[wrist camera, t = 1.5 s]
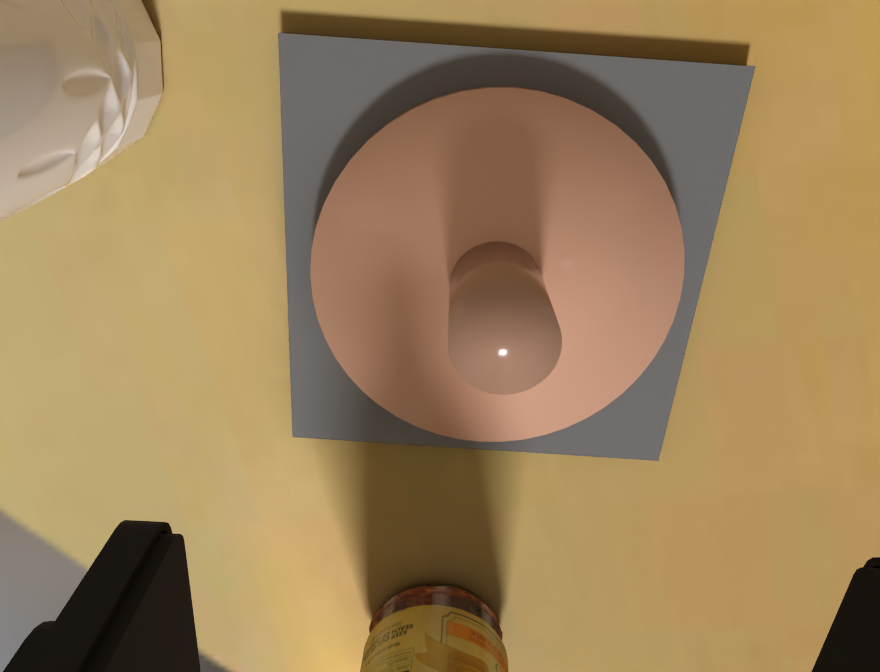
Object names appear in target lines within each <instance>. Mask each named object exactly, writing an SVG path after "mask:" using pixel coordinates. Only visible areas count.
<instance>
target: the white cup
mask: <svg viewBox="0 0 880 672" xmlns="http://www.w3.org/2000/svg"><path fill="white" fill-rule="evenodd" d="M162 95H163V81H162V61H161V42H160V39H159V36H158V34H157V32H156V30H155V28H154V26H153V24H152V21H151V19H150V17H149V15H148V13H147V11H146V9H145V6H144V4H143V2H142V0H0V221H2V220H4V219H6V218H8V217H10V216H12V215H14V214H16V213H18V212H20V211H22V210H24V209H26V208H28V207H30V206H32V205H34V204H36V203H38V202H40V201H42V200H44V199H45V198H47V197H49V196H51V195H53V194H54V193H56V192H58V191H59V190H61V189H63V188H65V187H67V186H68V185H70V184H72V183H74V182H76V181H77V180H79V179H81V178H83V177H84V176H86V175H88V174H89V173H91V172H92V171H93V170H94V169H95V168H96V167H98V166H101V165H103V164H105V163H107V162H109V161H110V160H112V159H113V158H114V157H116V156H117V155H119V154H120V153H121V152H123V151H124V150H126V149H127V148H128V147H130V146H131V145H133V144H134V143H135V142H137V141H138V140H140V139H141V138H142V137H144V136H145V134H146V131H147V129H148V127H149V124H150V122H151V120H152V118H153V115H154V113H155V111H156V108H157V106H158V104H159V102H160V99H161V97H162Z"/></svg>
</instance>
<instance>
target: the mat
mask: <svg viewBox="0 0 880 672" xmlns="http://www.w3.org/2000/svg"><path fill="white" fill-rule="evenodd" d="M278 39H279V67H280V95H281V124H282V152H283V180H284V209H285V237H286V265H287V293H288V322H289V350H290V378H291V407H292V435H293V437H300V438H315V439H331V440H346V441H362V442H377V443H392V444H408V445H423V446H439V447H454V448H469V449H485V450H500V451H516V452H531V453H546V454H562V455H577V456H593V457H608V458H623V459H639V460H654V461H658V460H659V456H660V452H661V448H662V444H663V440H664V436H665V432H666V428H667V424H668V420H669V416H670V411H671V407H672V403H673V399H674V395H675V391H676V387H677V383H678V379H679V375H680V371H681V367H682V363H683V359H684V355H685V350H686V346H687V342H688V338H689V334H690V330H691V326H692V322H693V318H694V314H695V310H696V306H697V302H698V298H699V294H700V290H701V285H702V281H703V277H704V273H705V269H706V265H707V261H708V257H709V253H710V249H711V245H712V241H713V237H714V233H715V229H716V225H717V220H718V216H719V212H720V208H721V204H722V200H723V196H724V192H725V188H726V184H727V180H728V176H729V172H730V168H731V164H732V159H733V155H734V151H735V147H736V143H737V139H738V135H739V131H740V127H741V123H742V119H743V115H744V111H745V107H746V103H747V99H748V94H749V90H750V86H751V82H752V78H753V74H754V70H755V67H754V66H744V65H730V64H716V63H701V62H687V61H673V60H659V59H645V58H631V57H617V56H602V55H588V54H574V53H560V52H546V51H532V50H518V49H503V48H489V47H475V46H461V45H447V44H433V43H418V42H404V41H390V40H376V39H362V38H348V37H334V36H319V35H305V34H291V33H278ZM486 86H515V87H522V88H530V89H537V90H541V91H545V92H548V93H552V94H555V95H559V96H563V97H565V98H567V99H570V100H572V101H574V102H576V103H579V104H581V105H583V106H585V107H588V108H589V109H591V110H593V111H594V112H596V113H597V114H599V115H601V116H602V117H604V118H605V119H607V120H608V121H610V122H612V123H613V124H615V125H616V126H617V127H619V128H620V129H621V130H622V131H623V132H624V133H625V134H627V135H628V136H629V137H630V138H631V139H632V140H634V141H635V142H636V143H637V144H638V146H639V147H640V148H641V149H642V150H643V151H644V153H645V154H646V155H647V156H648V157H649V158H650V160H651V161H652V162H653V164H654V165H655V167H656V168H657V170H658V172H659V173H660V175H661V176H662V178H663V179H664V181H665V183H666V185H667V187H668V190H669V192H670V194H671V196H672V199H673V201H674V203H675V206H676V209H677V213H678V217H679V220H680V224H681V228H682V235H683V243H684V251H685V256H684V279H683V285H682V292H681V298H680V301H679V305H678V308H677V311H676V315H675V318H674V321H673V323H672V325H671V327H670V330H669V332H668V334H667V336H666V339H665V341H664V342H663V344H662V346H661V347H660V349H659V351H658V352H657V354H656V355H655V357H654V359H653V360H652V362H651V363H650V364H649V365H648V367H647V368H646V369H645V370H644V371H643V373H642V374H641V375H640V376H639V378H638V379H637V380H636V381H635V382H634V383H633V384H632V385H631V386H630V387H629V388H628V389H627V390H625V391H624V392H623V393H622V394H621V395H620V396H619V397H617V398H616V399H615V400H613V401H612V402H611V403H610V404H608V405H607V406H606V407H604V408H603V409H601V410H599V411H598V412H596V413H594V414H593V415H591V416H589V417H588V418H586V419H584V420H582V421H580V422H577V423H575V424H573V425H571V426H569V427H567V428H564V429H561V430H558V431H555V432H552V433H549V434H546V435H542V436H537V437H533V438H528V439H523V440H513V441H504V442H479V441H471V440H463V439H456V438H452V437H448V436H443V435H439V434H436V433H433V432H430V431H427V430H424V429H422V428H419V427H416V426H414V425H412V424H410V423H408V422H406V421H404V420H402V419H400V418H398V417H396V416H395V415H393V414H392V413H390V412H389V411H387V410H386V409H384V408H383V407H381V406H380V405H378V404H377V403H376V402H375V401H374V400H372V399H371V398H370V397H369V396H368V395H366V394H365V393H364V392H363V391H362V390H361V389H360V388H359V387H358V386H357V385H356V384H355V383H354V382H353V380H352V379H351V378H350V377H349V376H348V375H347V373H346V372H345V371H344V369H343V368H342V366H341V365H340V364H339V362H338V361H337V360H336V358H335V356H334V354H333V353H332V351H331V349H330V347H329V345H328V343H327V341H326V340H325V337H324V334H323V332H322V329H321V327H320V324H319V321H318V319H317V314H316V310H315V306H314V302H313V297H312V287H311V277H310V269H311V250H312V245H313V239H314V234H315V229H316V225H317V222H318V219H319V216H320V213H321V210H322V207H323V205H324V203H325V201H326V199H327V197H328V195H329V193H330V191H331V189H332V187H333V185H334V183H335V181H336V180H337V178H338V177H339V175H340V174H341V172H342V171H343V170H344V168H345V167H346V165H347V164H348V162H349V161H350V160H351V158H352V157H353V156H354V155H355V154H356V153H357V152H358V151H359V149H360V148H361V147H362V146H363V145H364V144H365V143H366V142H367V141H368V140H369V139H370V138H371V137H372V136H373V135H374V134H375V133H377V132H378V131H379V130H380V129H381V128H383V127H384V126H385V125H386V124H387V123H389V122H390V121H391V120H393V119H395V118H396V117H398V116H399V115H401V114H403V113H404V112H406V111H408V110H409V109H411V108H413V107H415V106H417V105H419V104H422V103H424V102H426V101H428V100H431V99H433V98H435V97H438V96H442V95H445V94H449V93H452V92H456V91H459V90H465V89H472V88H479V87H486Z"/></svg>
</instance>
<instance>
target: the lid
mask: <svg viewBox="0 0 880 672" xmlns="http://www.w3.org/2000/svg"><path fill="white" fill-rule="evenodd" d="M684 256H685V251H684V243H683V235H682V228H681V224H680V220H679V217H678V213H677V209H676V206H675V203H674V201H673V199H672V196H671V194H670V192H669V190H668V187H667V185H666V183H665V181H664V179H663V178H662V176H661V175H660V173H659V172H658V170H657V168H656V167H655V165H654V164H653V162H652V161H651V160H650V158H649V157H648V156H647V155H646V154H645V153H644V151H643V150H642V149H641V148H640V147H639V146H638V144H637V143H636V142H635V141H634V140H632V139H631V138H630V137H629V136H628V135H627V134H625V133H624V132H623V131H622V130H621V129H620V128H619V127H617V126H616V125H615V124H613V123H612V122H610V121H608V120H607V119H605V118H604V117H602V116H601V115H599V114H597V113H596V112H594V111H593V110H591V109H589V108H588V107H585V106H583V105H581V104H579V103H576V102H574V101H572V100H570V99H567V98H565V97H563V96H559V95H555V94H552V93H548V92H545V91H541V90H537V89H530V88H522V87H515V86H486V87H479V88H472V89H465V90H459V91H456V92H452V93H449V94H445V95H442V96H438V97H435V98H433V99H431V100H428V101H426V102H424V103H422V104H419V105H417V106H415V107H413V108H411V109H409V110H408V111H406V112H404V113H403V114H401V115H399V116H398V117H396V118H395V119H393V120H391V121H390V122H389V123H387V124H386V125H385V126H384V127H383V128H381V129H380V130H379V131H378V132H377V133H375V134H374V135H373V136H372V137H371V138H370V139H369V140H368V141H367V142H366V143H365V144H364V145H363V146H362V147H361V148H360V149H359V151H358V152H357V153H356V154H355V155H354V156H353V157H352V158H351V160H350V161H349V162H348V164H347V165H346V167H345V168H344V170H343V171H342V172H341V174H340V175H339V177H338V178H337V180H336V181H335V183H334V185H333V187H332V189H331V191H330V193H329V195H328V197H327V199H326V201H325V203H324V205H323V207H322V210H321V213H320V216H319V219H318V222H317V225H316V229H315V234H314V239H313V245H312V250H311V269H310V277H311V287H312V297H313V302H314V306H315V310H316V314H317V319H318V321H319V324H320V327H321V329H322V332H323V334H324V337H325V340H326V341H327V343H328V345H329V347H330V349H331V351H332V353H333V354H334V356H335V358H336V360H337V361H338V362H339V364H340V365H341V366H342V368H343V369H344V371H345V372H346V373H347V375H348V376H349V377H350V378H351V379H352V380H353V382H354V383H355V384H356V385H357V386H358V387H359V388H360V389H361V390H362V391H363V392H364V393H365V394H366V395H368V396H369V397H370V398H371V399H372V400H374V401H375V402H376V403H377V404H378V405H380V406H381V407H383V408H384V409H386V410H387V411H389V412H390V413H392V414H393V415H395V416H396V417H398V418H400V419H402V420H404V421H406V422H408V423H410V424H412V425H414V426H416V427H419V428H422V429H424V430H427V431H430V432H433V433H436V434H439V435H443V436H448V437H452V438H456V439H463V440H471V441H479V442H504V441H513V440H523V439H528V438H533V437H537V436H542V435H546V434H549V433H552V432H555V431H558V430H561V429H564V428H567V427H569V426H571V425H573V424H575V423H577V422H580V421H582V420H584V419H586V418H588V417H589V416H591V415H593V414H594V413H596V412H598V411H599V410H601V409H603V408H604V407H606V406H607V405H608V404H610V403H611V402H612V401H613V400H615V399H616V398H617V397H619V396H620V395H621V394H622V393H623V392H624V391H625V390H627V389H628V388H629V387H630V386H631V385H632V384H633V383H634V382H635V381H636V380H637V379H638V378H639V376H640V375H641V374H642V373H643V371H644V370H645V369H646V368H647V367H648V365H649V364H650V363H651V362H652V360H653V359H654V357H655V355H656V354H657V352H658V351H659V349H660V347H661V346H662V344H663V342H664V341H665V339H666V336H667V334H668V332H669V330H670V327H671V325H672V323H673V321H674V318H675V315H676V311H677V308H678V305H679V301H680V298H681V292H682V285H683V279H684Z"/></svg>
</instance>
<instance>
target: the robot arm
mask: <svg viewBox="0 0 880 672" xmlns="http://www.w3.org/2000/svg"><path fill="white" fill-rule="evenodd" d="M3 672H200V663H199V655H198V647H197V639H196V631H195V623H194V615H193V607H192V599H191V591H190V583H189V575H188V567H187V559H186V551H185V543H184V538H183V536H182V535H181V534H172V530H171V527H170V525H169V524H168V523H166V522H150V521H130V520H125V521H123V522H121V523H120V524H119V525H118V526H117V527H116V529H115V530H114V532H113V533H112V535H111V536H110V538H109V539H108V541H107V543H106V544H105V546H104V547H103V549H102V550H101V552H100V553H99V555H98V556H97V558H96V559H95V561H94V562H93V564H92V566H91V567H90V569H89V570H88V572H87V573H86V575H85V576H84V578H83V579H82V581H81V582H80V584H79V585H78V587H77V588H76V590H75V592H74V593H73V595H72V596H71V598H70V600H69V601H68V602H67V604H66V606H65V607H64V608H63V610H62V611H61V613H60V614H59V616H58V618H57V619H56V621H48V622H43V623H41V624H40V625H38V626H37V627H36V628H34V629H33V631H32V632H31V633H30V635H28V637H27V638H26V639H25V640H24V642H23V643H22V645H21V646H20V648H19V649H18V651H17V652H16V653H15V655H14V656H13V658H12V659H11V661H10V662H9V664H8V665H7V667H6V668H5V670H4V671H3ZM812 672H880V557H877V558H871V559H870V560H868V561H867V562H866V564H865V565H864V567H863V568H859V569H857V570H856V572H855V573H854V575H853V577H852V580H851V582H850V584H849V587H848V589H847V591H846V593H845V596H844V598H843V600H842V603H841V605H840V607H839V610H838V612H837V614H836V617H835V619H834V621H833V624H832V626H831V628H830V631H829V633H828V635H827V638H826V640H825V642H824V644H823V647H822V649H821V651H820V654H819V656H818V658H817V661H816V663H815V665H814V668H813V670H812Z"/></svg>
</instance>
